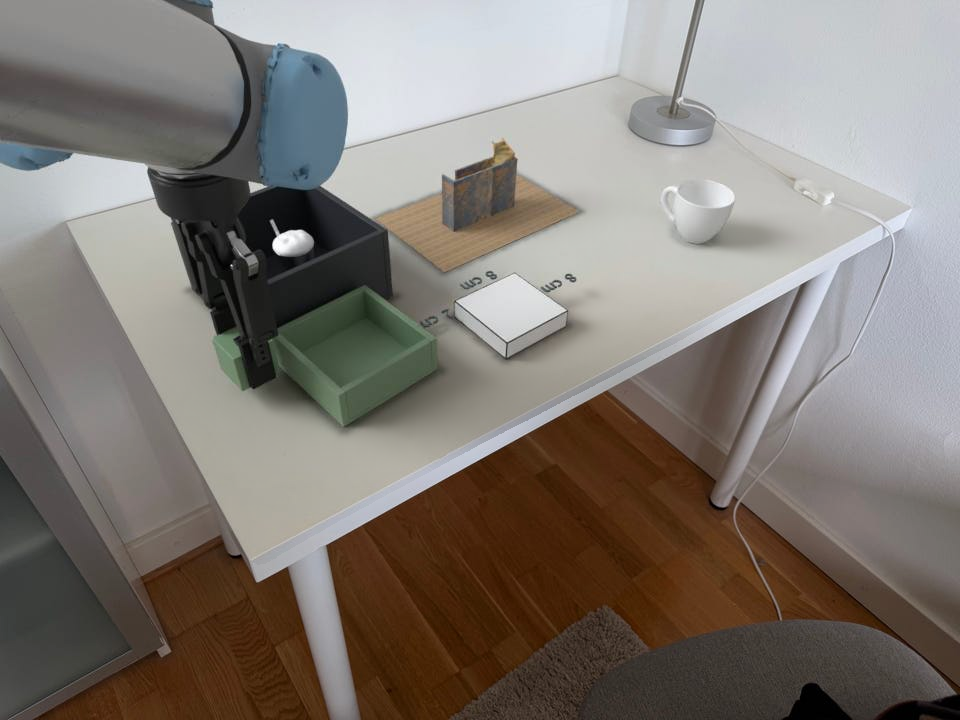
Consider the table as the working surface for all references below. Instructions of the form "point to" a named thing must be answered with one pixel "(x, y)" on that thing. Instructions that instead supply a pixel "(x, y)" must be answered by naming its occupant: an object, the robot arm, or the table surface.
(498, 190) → the architectural model on board
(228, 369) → the green block
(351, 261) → the dark bin
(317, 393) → the green bin
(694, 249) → the table surface
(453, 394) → the table surface
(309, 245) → the milkshake
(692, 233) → the cup
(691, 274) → the table surface
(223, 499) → the table surface
